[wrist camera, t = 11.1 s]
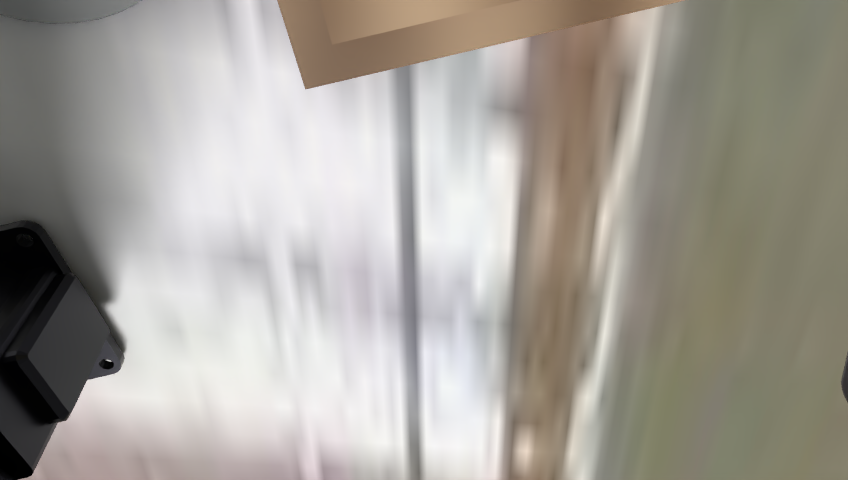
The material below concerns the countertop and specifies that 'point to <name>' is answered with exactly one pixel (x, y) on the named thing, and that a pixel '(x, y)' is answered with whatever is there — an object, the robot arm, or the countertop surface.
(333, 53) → the walnut stand
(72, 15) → the grey coaster
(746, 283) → the countertop surface
